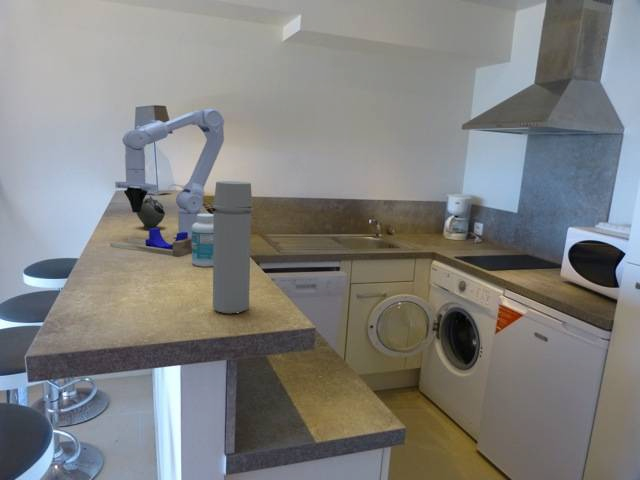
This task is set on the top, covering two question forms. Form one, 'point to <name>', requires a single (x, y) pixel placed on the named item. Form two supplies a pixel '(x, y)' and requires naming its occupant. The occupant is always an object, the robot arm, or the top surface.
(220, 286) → the water bottle
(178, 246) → the guide channel
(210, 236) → the pill bottle
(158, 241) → the blue cradle block
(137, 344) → the top surface
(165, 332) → the top surface
